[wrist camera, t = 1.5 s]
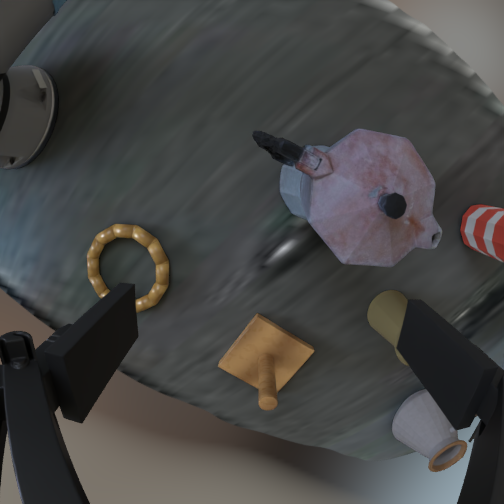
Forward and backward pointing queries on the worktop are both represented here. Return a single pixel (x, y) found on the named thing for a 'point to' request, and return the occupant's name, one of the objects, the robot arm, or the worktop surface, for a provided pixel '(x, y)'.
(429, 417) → the coffee pot
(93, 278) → the ring
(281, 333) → the wooden peg stand
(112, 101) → the worktop surface
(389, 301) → the cork
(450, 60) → the worktop surface
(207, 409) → the worktop surface
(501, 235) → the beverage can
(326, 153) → the moka pot
